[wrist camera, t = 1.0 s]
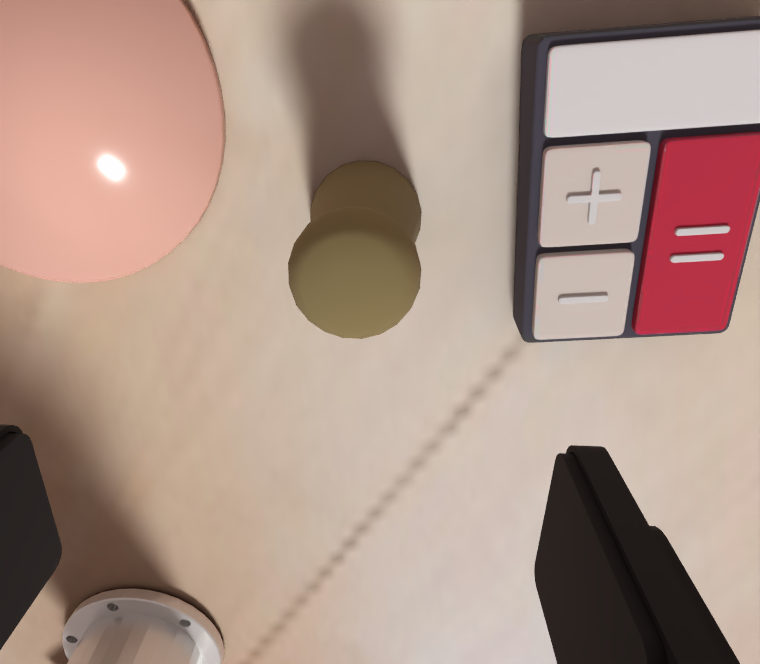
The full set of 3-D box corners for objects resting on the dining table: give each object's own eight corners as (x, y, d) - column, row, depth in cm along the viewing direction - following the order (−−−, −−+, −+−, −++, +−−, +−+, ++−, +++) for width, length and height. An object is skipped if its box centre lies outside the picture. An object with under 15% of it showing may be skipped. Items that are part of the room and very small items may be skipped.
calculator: (524, 351, 30) (541, 34, 23) (509, 315, 34) (521, 35, 27) (736, 340, 29) (820, 12, 22) (697, 305, 33) (758, 15, 26)
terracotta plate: (94, 334, 34) (86, 342, 33) (-200, 99, 28) (-220, 100, 28) (298, 118, 28) (295, 119, 27) (-19, -223, 23) (-36, -236, 22)
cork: (341, 286, 32) (316, 383, 22) (290, 189, 30) (238, 249, 20) (438, 244, 31) (459, 326, 21) (394, 140, 29) (393, 176, 19)
